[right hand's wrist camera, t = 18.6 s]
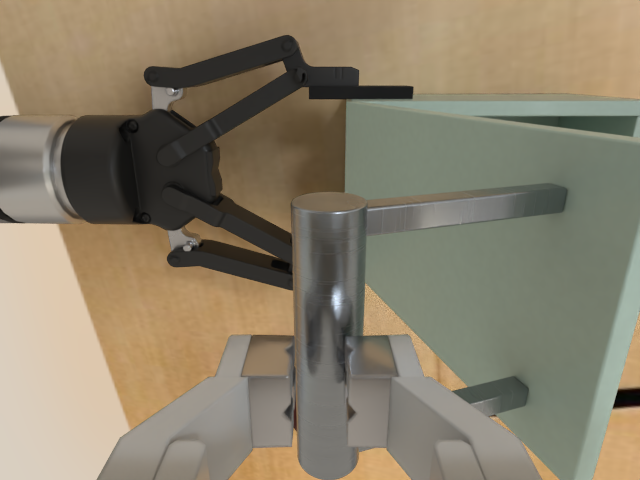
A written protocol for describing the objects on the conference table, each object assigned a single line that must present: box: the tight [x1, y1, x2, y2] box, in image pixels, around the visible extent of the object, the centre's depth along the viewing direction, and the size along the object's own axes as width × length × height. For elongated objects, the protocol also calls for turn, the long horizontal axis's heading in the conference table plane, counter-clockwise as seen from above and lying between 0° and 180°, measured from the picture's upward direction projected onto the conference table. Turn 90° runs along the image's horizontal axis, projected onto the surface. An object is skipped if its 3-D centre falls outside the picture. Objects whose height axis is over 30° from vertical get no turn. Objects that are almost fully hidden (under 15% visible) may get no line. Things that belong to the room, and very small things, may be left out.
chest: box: [346, 94, 640, 138], centre depth 32 cm, size 18×10×10 cm, turn 90°
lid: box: [291, 101, 640, 480], centre depth 18 cm, size 18×10×8 cm
